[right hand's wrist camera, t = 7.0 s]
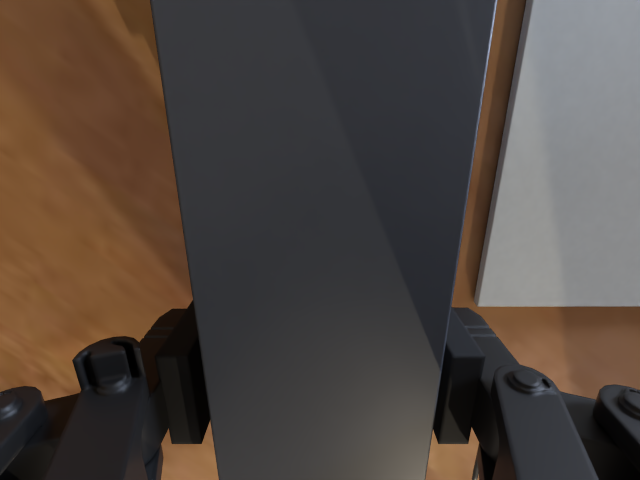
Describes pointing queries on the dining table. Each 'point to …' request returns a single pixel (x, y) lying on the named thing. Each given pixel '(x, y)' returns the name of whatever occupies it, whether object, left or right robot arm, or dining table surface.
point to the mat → (568, 163)
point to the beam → (322, 219)
